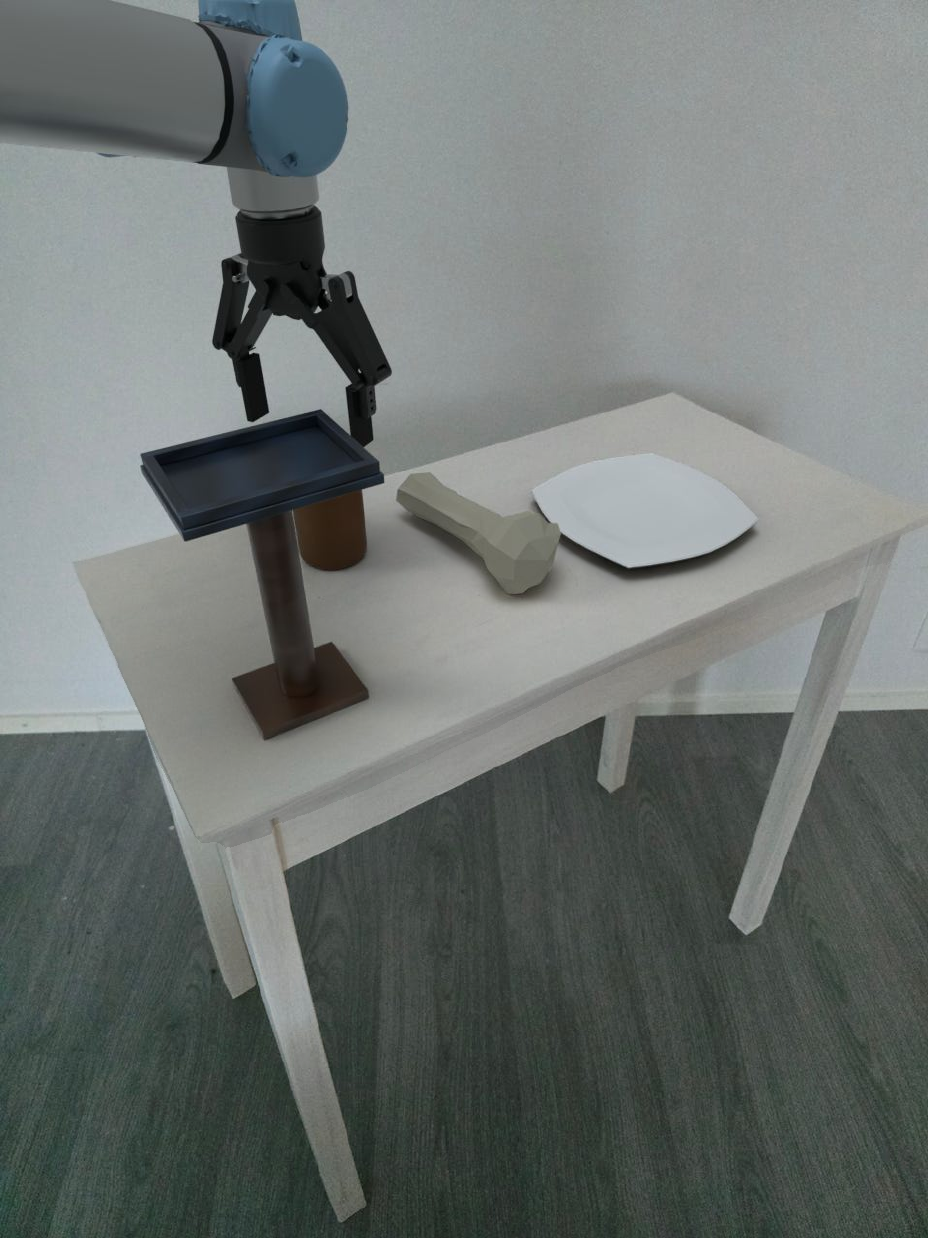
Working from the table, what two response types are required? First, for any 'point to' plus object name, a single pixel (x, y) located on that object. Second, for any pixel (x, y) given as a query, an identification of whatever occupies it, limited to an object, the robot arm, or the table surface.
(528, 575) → the faceted club
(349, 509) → the mug
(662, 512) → the plate
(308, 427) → the pedestal tray stand
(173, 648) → the table surface
